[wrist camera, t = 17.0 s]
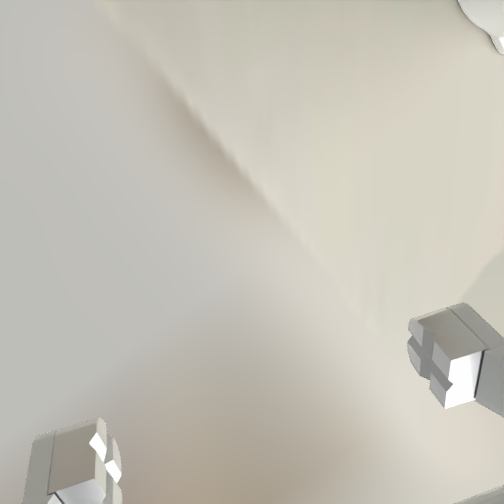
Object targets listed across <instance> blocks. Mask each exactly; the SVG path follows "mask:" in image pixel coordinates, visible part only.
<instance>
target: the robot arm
mask: <svg viewBox="0 0 504 504" xmlns="http://www.w3.org/2000/svg"><path fill="white" fill-rule="evenodd" d="M458 2H459V4H460V6H461V8H462V10H463V12H464V13H465V15H466V16H467V17H468V18H469V19H470V20H471V21H472V22H473V23H474V24H475V25H477V26H478V27H480V28H482V29H483V30H485V31H486V32H487V33H488V34H489V35H490V36H491V39H492V41H493V43H494V45H495V47H496V49H497V50H498V52H499V53H501V54H503V55H504V0H458ZM408 330H409V331H410V333H411V334H412V337H411V338H410V339H409V341H408V354H409V357H410V361H411V363H412V365H413V367H414V368H415V370H416V371H417V373H418V374H419V375H420V376H422V377H424V378H426V379H428V380H430V390H431V391H432V393H433V394H434V395H435V397H436V398H437V399H438V401H439V402H440V403H441V405H442V406H443V407H444V409H446V408H449V407H452V406H455V405H458V404H461V403H465V402H468V401H471V400H474V399H475V401H476V402H478V403H479V404H481V405H483V406H485V407H487V408H488V409H490V410H492V411H493V412H495V413H497V414H499V415H500V416H502V417H504V338H503V337H502V336H501V335H500V334H499V333H498V332H497V331H496V330H495V329H494V328H492V326H491V325H490V324H489V323H487V322H486V321H485V320H484V319H483V318H482V317H481V316H480V315H479V314H478V313H477V312H476V311H475V310H474V309H473V308H472V307H471V306H469V305H468V304H466V303H460V304H457V305H453V306H450V307H447V308H445V309H444V308H443V309H440V310H437V311H434V312H431V313H428V314H425V315H422V316H419V317H416V318H413V319H411V320H410V322H409V327H408ZM121 472H122V470H121V459H120V453H119V449H118V447H117V443H116V441H115V440H114V438H113V436H110V435H108V434H107V425H106V424H105V422H104V421H103V419H102V418H96V419H93V420H89V421H86V422H83V423H79V424H76V425H72V426H69V427H66V428H62V429H58V430H55V431H52V432H49V433H45V434H42V435H39V436H36V438H35V440H34V442H33V444H32V450H31V456H30V461H29V467H28V473H27V479H26V485H25V491H24V497H23V502H22V504H122V491H121V490H120V488H119V486H118V485H117V482H118V480H119V478H120V476H121V474H122V473H121ZM454 504H504V485H502V486H500V487H497V488H494V489H492V490H489V491H486V492H484V493H481V494H478V495H475V496H473V497H471V498H467V499H465V500H462V501H459V502H457V503H454Z"/></svg>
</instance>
